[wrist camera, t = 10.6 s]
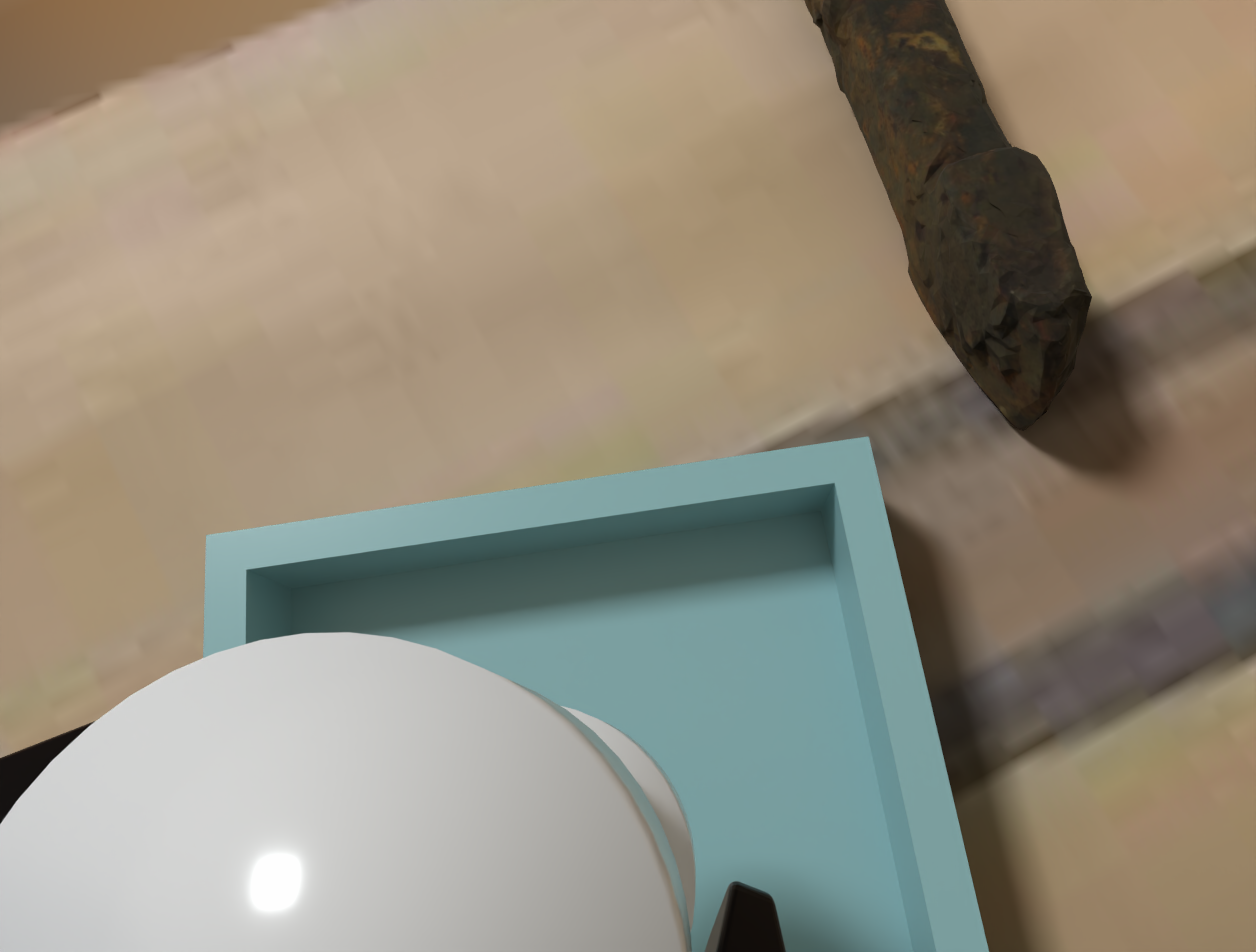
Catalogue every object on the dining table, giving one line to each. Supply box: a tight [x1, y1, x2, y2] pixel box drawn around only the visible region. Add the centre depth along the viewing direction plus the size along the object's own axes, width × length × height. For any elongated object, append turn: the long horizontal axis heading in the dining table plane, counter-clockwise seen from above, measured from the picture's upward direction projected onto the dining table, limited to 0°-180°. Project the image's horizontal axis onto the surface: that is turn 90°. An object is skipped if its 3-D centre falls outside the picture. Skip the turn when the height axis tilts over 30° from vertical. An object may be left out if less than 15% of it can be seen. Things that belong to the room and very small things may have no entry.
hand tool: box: [805, 0, 1092, 430], centre depth 24 cm, size 19×4×5 cm, turn 11°
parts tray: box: [203, 437, 989, 952], centre depth 20 cm, size 16×16×3 cm
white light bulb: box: [0, 632, 696, 952], centre depth 10 cm, size 5×5×10 cm
